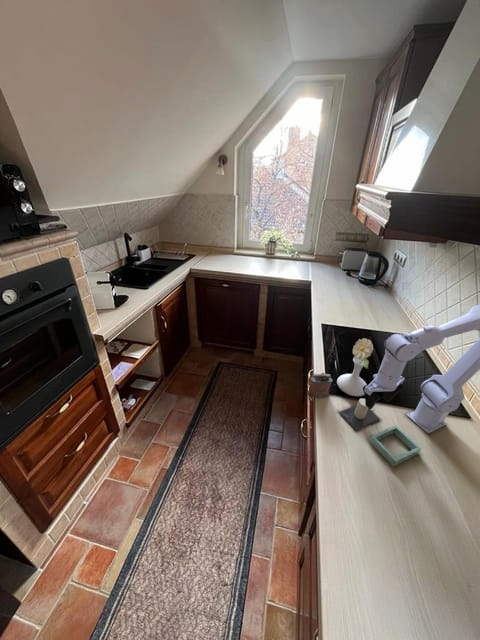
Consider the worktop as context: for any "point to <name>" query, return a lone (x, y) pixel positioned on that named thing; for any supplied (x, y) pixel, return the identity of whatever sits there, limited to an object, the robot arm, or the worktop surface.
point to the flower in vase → (356, 369)
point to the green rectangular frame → (386, 453)
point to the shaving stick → (361, 409)
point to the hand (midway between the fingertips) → (377, 403)
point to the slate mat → (357, 422)
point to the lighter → (319, 385)
